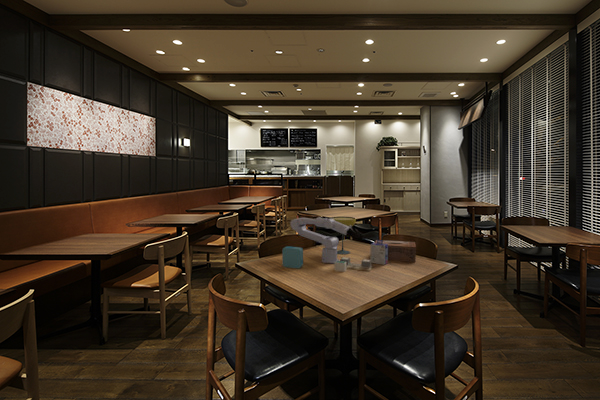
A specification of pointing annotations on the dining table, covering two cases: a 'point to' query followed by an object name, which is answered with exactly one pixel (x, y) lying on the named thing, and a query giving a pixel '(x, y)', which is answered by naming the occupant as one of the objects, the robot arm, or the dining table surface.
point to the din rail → (357, 265)
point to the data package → (292, 257)
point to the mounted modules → (363, 263)
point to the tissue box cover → (401, 250)
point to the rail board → (359, 268)
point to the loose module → (340, 266)
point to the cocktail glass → (347, 222)
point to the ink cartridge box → (379, 253)
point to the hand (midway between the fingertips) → (361, 236)
